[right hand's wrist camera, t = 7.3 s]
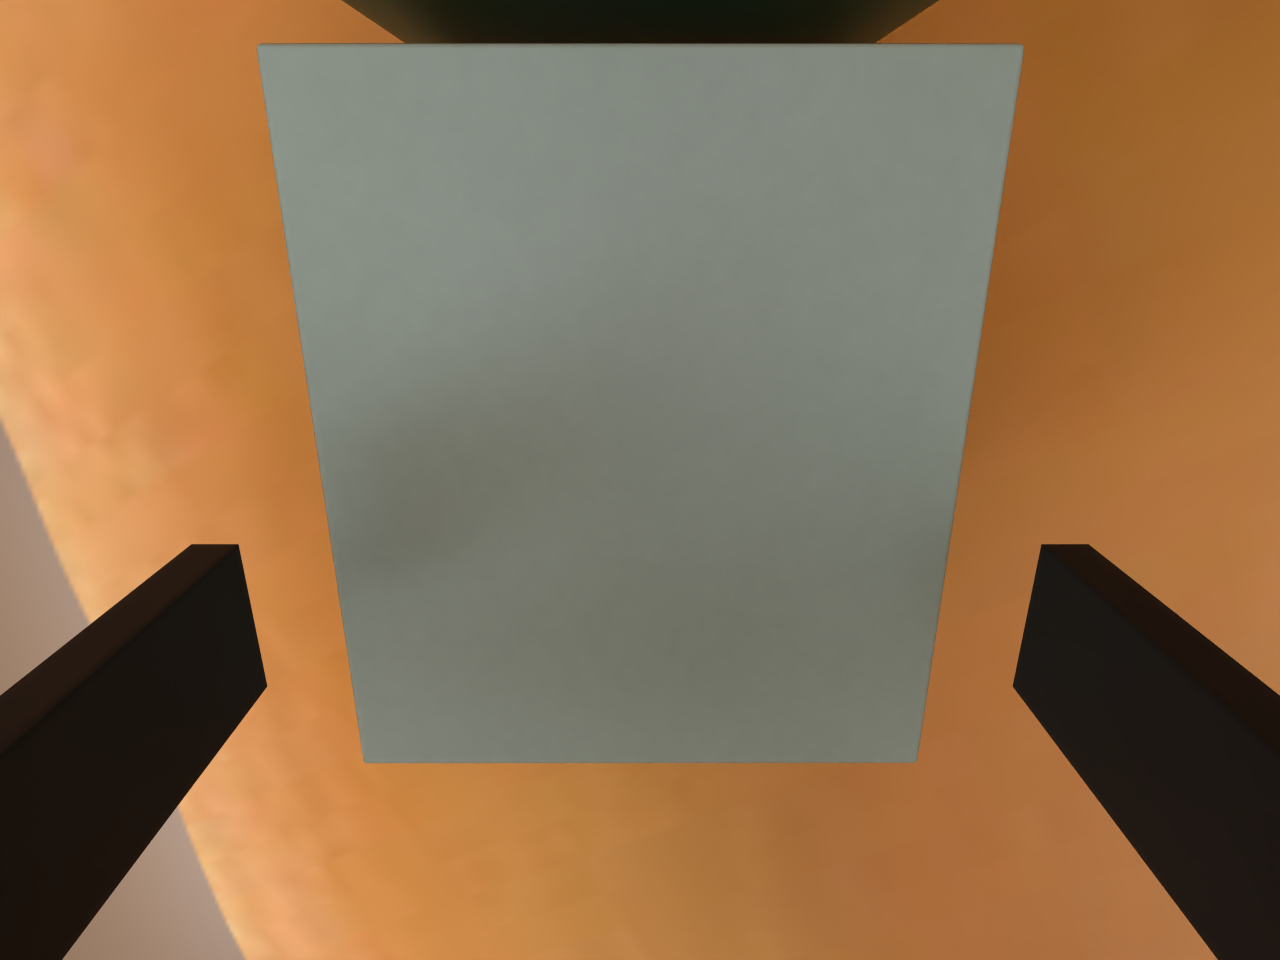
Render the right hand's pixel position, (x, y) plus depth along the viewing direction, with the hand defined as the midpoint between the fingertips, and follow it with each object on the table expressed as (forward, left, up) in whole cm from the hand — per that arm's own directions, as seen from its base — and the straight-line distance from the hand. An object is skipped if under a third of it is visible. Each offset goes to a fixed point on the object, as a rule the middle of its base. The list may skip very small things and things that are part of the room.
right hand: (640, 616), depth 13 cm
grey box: (+1, +2, -13) cm, 13 cm away
